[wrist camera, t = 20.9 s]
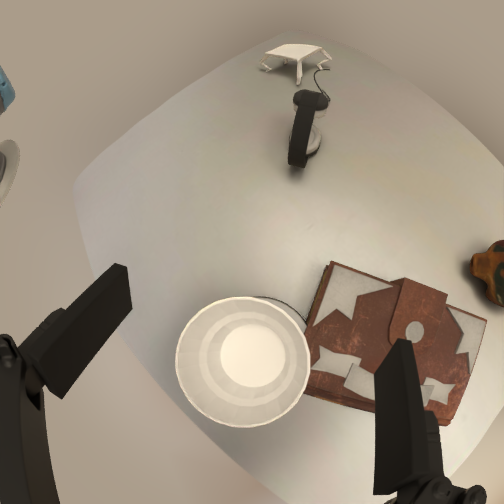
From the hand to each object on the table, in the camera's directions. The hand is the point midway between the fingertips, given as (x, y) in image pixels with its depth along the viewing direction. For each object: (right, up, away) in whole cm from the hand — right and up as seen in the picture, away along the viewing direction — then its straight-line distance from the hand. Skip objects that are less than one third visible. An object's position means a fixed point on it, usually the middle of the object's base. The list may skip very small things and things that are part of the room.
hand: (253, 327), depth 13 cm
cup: (0, -8, +17) cm, 18 cm away
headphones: (+9, +22, +28) cm, 37 cm away
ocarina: (+37, -1, +20) cm, 41 cm away
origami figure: (+8, +36, +32) cm, 48 cm away
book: (+17, -9, +19) cm, 27 cm away
